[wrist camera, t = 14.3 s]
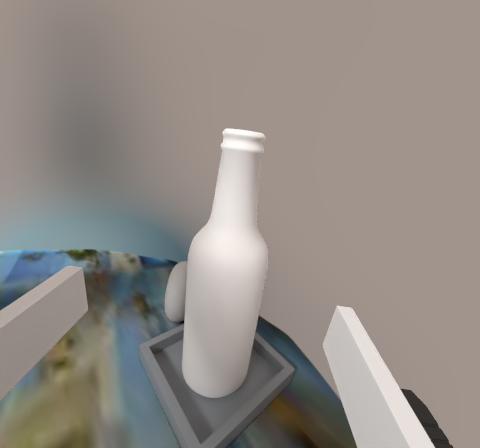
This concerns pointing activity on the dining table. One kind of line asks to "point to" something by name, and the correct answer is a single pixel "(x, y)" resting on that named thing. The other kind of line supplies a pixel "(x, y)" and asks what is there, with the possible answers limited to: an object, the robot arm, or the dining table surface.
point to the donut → (176, 293)
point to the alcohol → (226, 274)
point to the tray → (204, 408)
